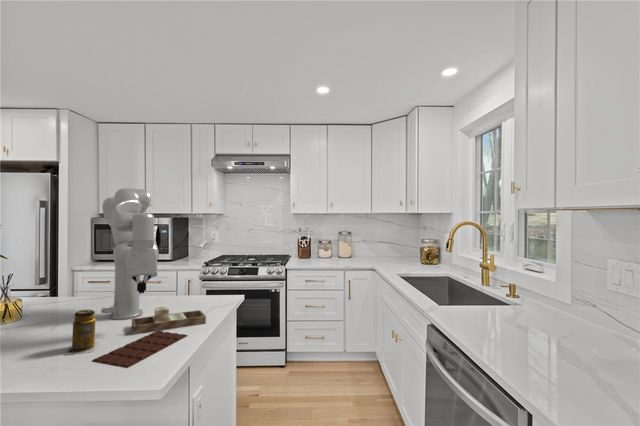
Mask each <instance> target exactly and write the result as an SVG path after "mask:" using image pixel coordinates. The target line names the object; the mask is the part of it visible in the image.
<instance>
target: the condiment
mask: <svg viewBox="0 0 640 426" xmlns="http://www.w3.org/2000/svg"><path fill="white" fill-rule="evenodd" d="M73 319H74V320H73V322H72V338H71V339H72V341H71V346H70V347H69V348H68V349H67V352H66V353H65V355H79V354H86V353H92V352H93V353H94V351H95V349H96V347H97V344H98V341H96V340H95V338H96V337H95V335H96V318H95V310H94V309H83V310H78V311H76V312H75V314H74V318H73Z"/></svg>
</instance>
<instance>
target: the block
mask: <svg viewBox="0 0 640 426" xmlns="http://www.w3.org/2000/svg"><path fill="white" fill-rule="evenodd" d="M169 314H170V309H169V307H168V306H160V307H154V316H155V320H156V321H161V320H168V319H169Z"/></svg>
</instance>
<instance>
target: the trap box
mask: <svg viewBox="0 0 640 426" xmlns="http://www.w3.org/2000/svg"><path fill="white" fill-rule="evenodd" d="M206 320H207V316H206V315H205V313H203V311H202V310H200V309H199V310H198V309H197V310H191V311H190V310H189V311H183V312H175V313H169V319H168V320H161V321H156V320H155V315H151V316H144V317H134V318H131V330H132V334H133V335H140V334H146V333H153V332H156V331H166V330H171V329H178V328H184V327H192V326H198V325H204V324H207V321H206Z"/></svg>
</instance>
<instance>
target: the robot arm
mask: <svg viewBox="0 0 640 426" xmlns="http://www.w3.org/2000/svg"><path fill="white" fill-rule="evenodd" d="M102 202H103V203H102V213H103V217H104V219H105V221H106V222H107V224H108V225H109V227H110V229H111V234H112V238H113V241H114V244H115V247H114V248H113V250H112V251H113V252H112V253H113V254H112V255H113V263H114V295H113V298H114V300H113V304H112V306H110V307H102V308H101V311H100V313H101V314H109V316H108V317H109V319H113V320H128V319H135V318H139V317H140V316H142V315H143V313H144V311H143V309H141V308H140V294H145V291H147V283H148V281H150V279H152V278H154V277H158V259H159V257H160V256H159V255H160V253H159V247H158V245H157V241H156V238H155V216H154V214H152V213H146V211H147V209H148V208H149V207H150V205H151V202H152V196H151V194H150V192H149V191H148V190H146V189H141V188H140V189H139V188H126V187H125V188H121V189H118V190H117V191H115V193H114V196H112V197H108V198H106V199H105V200H104V201H102ZM141 276H143V279H142V281H141Z"/></svg>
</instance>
